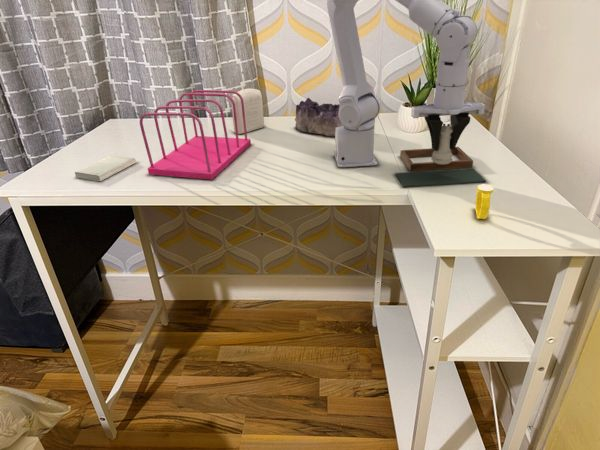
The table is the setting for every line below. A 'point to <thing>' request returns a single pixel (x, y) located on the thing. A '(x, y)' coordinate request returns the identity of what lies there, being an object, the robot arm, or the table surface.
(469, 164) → the desk tray
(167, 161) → the file sorter
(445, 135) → the rook chess piece
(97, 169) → the hard drive
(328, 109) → the geode
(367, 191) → the table surface
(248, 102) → the white rounded block
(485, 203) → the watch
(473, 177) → the desk mat
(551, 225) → the table surface
